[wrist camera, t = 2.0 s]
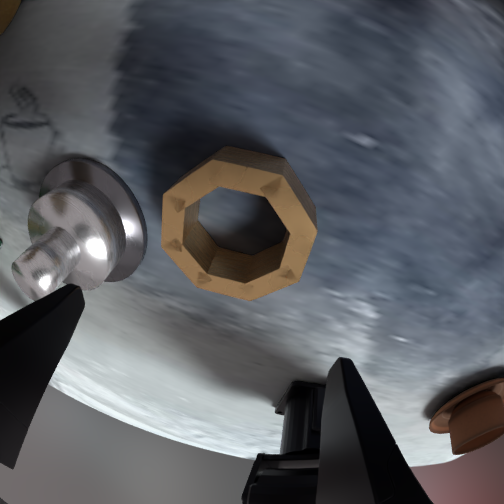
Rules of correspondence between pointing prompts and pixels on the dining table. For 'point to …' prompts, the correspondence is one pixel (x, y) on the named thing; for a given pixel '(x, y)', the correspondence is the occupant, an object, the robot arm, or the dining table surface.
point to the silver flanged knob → (81, 230)
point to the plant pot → (7, 12)
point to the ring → (227, 261)
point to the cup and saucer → (472, 417)
